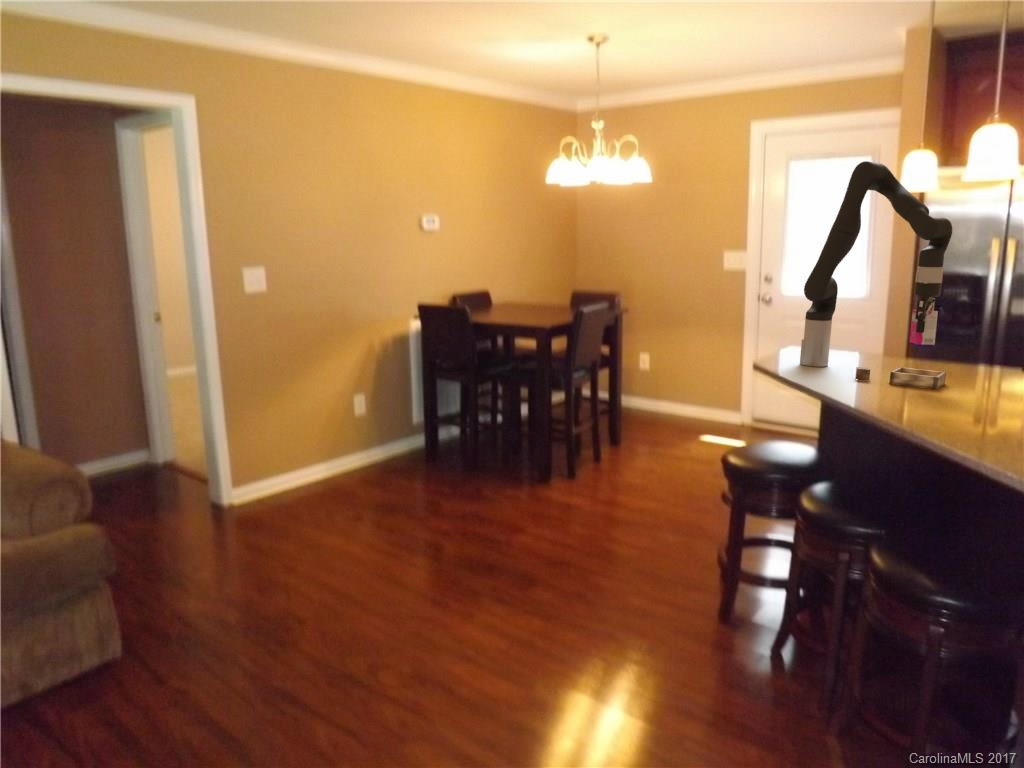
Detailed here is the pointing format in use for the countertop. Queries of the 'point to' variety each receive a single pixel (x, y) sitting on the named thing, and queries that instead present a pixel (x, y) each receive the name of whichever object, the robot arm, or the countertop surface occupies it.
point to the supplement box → (929, 331)
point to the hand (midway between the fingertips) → (922, 331)
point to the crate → (917, 378)
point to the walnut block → (862, 373)
